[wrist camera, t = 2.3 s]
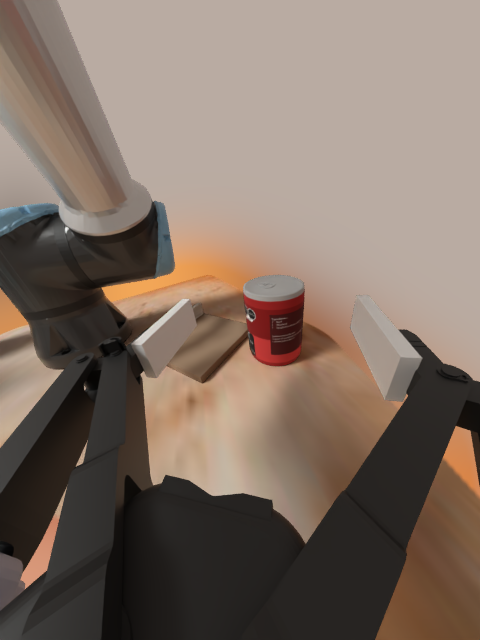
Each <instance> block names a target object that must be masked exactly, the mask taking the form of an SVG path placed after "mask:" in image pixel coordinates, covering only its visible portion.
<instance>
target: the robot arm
mask: <svg viewBox="0 0 480 640" xmlns="http://www.w3.org/2000/svg"><path fill="white" fill-rule="evenodd" d="M0 123H1V124H2V125H3V126H4V128H5V129H6V130H7V132H8V133H9V134H10V135H11V137H12V138H13V139H14V140H15V142H16V143H17V144H18V145H19V147H20V148H21V149H22V150H23V152H24V153H25V154H26V155H27V157H28V158H29V159H30V161H31V162H32V163H33V164H34V166H35V167H36V168H37V169H38V171H39V172H40V173H41V174H42V176H43V177H44V178H45V179H46V181H47V182H48V183H49V185H50V186H51V187H52V188H53V190H54V191H55V192H56V193H57V195H58V196H59V197H60V198H61V201H60V204H59V206H58V205H56V204H48V203H44V204H31V205H25V206H21V207H11V208H6V209H1V210H0V288H1V289H2V290H3V292H4V293H5V294H6V295H7V297H8V298H9V299H10V300H11V302H12V303H13V304H14V305H15V307H16V308H17V309H18V310H19V311H20V313H21V314H22V315H23V316H24V318H25V319H26V320H27V322H28V324H29V326H30V330H31V334H32V338H33V342H34V346H35V350H36V354H37V356H38V358H39V359H40V360H41V361H42V362H43V364H44V365H45V366H46V367H48V368H52V369H63V368H65V369H64V370H63V372H62V373H61V374H60V375H59V377H58V378H57V379H56V380H55V382H54V383H53V384H52V385H51V386H50V388H49V389H48V390H47V391H46V393H45V394H44V395H43V396H42V398H41V399H40V400H39V401H38V402H37V404H36V405H35V406H34V407H33V409H32V410H31V411H30V412H29V414H28V415H27V416H26V417H25V418H24V420H23V421H22V422H21V423H20V425H19V426H18V427H17V428H16V430H15V431H14V432H13V433H12V434H11V436H10V437H9V438H8V439H7V441H6V442H5V443H4V444H3V446H2V447H1V448H0V640H375V638H376V636H377V633H378V630H379V628H380V625H381V623H382V620H383V618H384V615H385V613H386V610H387V608H388V605H389V603H390V600H391V597H392V595H393V592H394V590H395V587H396V585H397V582H398V580H399V577H400V575H401V572H402V569H403V566H404V564H405V560H406V556H407V553H406V548H407V544H408V542H409V539H410V537H411V534H412V532H413V529H414V527H415V524H416V522H417V520H418V517H419V515H420V512H421V510H422V507H423V505H424V502H425V500H426V497H427V495H428V493H429V490H430V488H431V485H432V483H433V480H434V478H435V475H436V473H437V470H438V468H439V465H440V463H441V461H442V458H443V456H444V453H445V451H446V448H447V446H448V443H449V441H450V438H451V436H452V434H453V431H454V429H455V426H458V427H461V428H464V429H467V430H470V431H471V436H472V442H473V448H474V454H475V461H476V467H477V473H478V479H479V485H480V382H478V381H474V380H473V379H472V378H471V377H470V376H469V375H468V374H467V373H466V372H464V371H463V370H461V369H459V368H456V367H454V366H451V365H447V364H443V363H442V362H441V360H440V359H439V358H438V357H437V356H436V355H435V354H434V353H433V352H432V351H431V350H430V349H429V348H428V347H427V346H426V345H425V344H424V343H423V342H422V341H421V340H420V339H419V338H418V337H417V335H415V334H413V333H412V332H410V331H408V330H398V329H397V328H396V327H395V326H394V325H393V323H392V322H391V321H390V320H389V319H388V317H387V316H386V315H385V314H384V313H383V312H382V310H381V309H380V308H379V307H378V306H377V305H376V303H375V302H374V301H373V300H372V299H371V297H370V296H369V295H356V300H355V305H354V310H353V315H352V321H351V326H350V329H351V331H352V333H353V335H354V337H355V339H356V341H357V343H358V345H359V348H360V349H361V352H362V353H363V356H364V358H365V360H366V362H367V364H368V366H369V368H370V370H371V373H372V375H373V377H374V379H375V381H376V383H377V385H378V387H379V389H380V391H381V394H382V396H383V398H384V400H390V401H401V402H402V401H403V400H404V398H405V396H406V394H408V397H407V399H406V400H405V402H404V403H403V405H402V406H401V408H400V409H399V411H398V412H397V414H396V415H395V417H394V418H393V420H392V421H391V423H390V424H389V426H388V427H387V429H386V430H385V432H384V433H383V435H382V436H381V438H380V439H379V441H378V442H377V444H376V445H375V447H374V448H373V450H372V451H371V453H370V454H369V456H368V457H367V459H366V460H365V462H364V463H363V465H362V466H361V468H360V469H359V471H358V472H357V474H356V475H355V477H354V478H353V480H352V481H351V483H350V484H349V486H348V487H347V488H346V489H345V490H344V491H342V493H341V494H340V495H339V496H338V498H337V499H336V500H335V502H334V503H333V505H332V506H331V508H330V509H329V511H328V512H327V514H326V515H325V517H324V518H323V520H322V521H321V523H320V524H319V525H318V527H317V528H316V530H315V531H314V533H313V534H312V536H311V537H310V539H309V540H308V542H307V543H306V544H305V542H304V540H303V539H302V537H301V536H300V534H299V533H298V532H297V530H296V529H295V528H294V526H293V525H292V524H291V523H290V522H289V521H288V520H287V519H286V518H285V517H283V516H282V515H281V514H280V513H278V512H277V511H275V510H274V509H273V504H272V500H269V499H264V498H260V497H256V496H252V495H248V494H244V493H242V494H232V495H222V496H211V495H209V494H208V493H207V492H205V491H204V490H202V489H201V488H199V487H198V486H196V485H195V484H193V483H192V482H191V481H189V480H185V479H181V478H177V477H173V476H168V475H165V477H164V479H163V482H162V483H161V484H157V485H154V486H153V484H152V481H151V477H150V467H149V455H148V443H147V431H146V419H145V406H144V394H143V382H142V377H141V375H140V374H141V373H142V372H143V371H144V372H145V374H146V376H147V377H152V378H157V377H158V376H159V374H160V373H161V372H162V371H163V369H164V368H165V367H166V365H167V364H168V363H169V361H170V360H171V359H172V358H173V356H174V355H175V354H176V352H177V351H178V350H179V348H180V347H181V346H182V345H183V343H184V342H185V341H186V339H187V338H188V337H189V335H190V334H191V333H192V332H193V330H194V329H195V328H196V326H197V323H196V319H195V315H194V312H193V308H192V304H191V301H190V299H182V300H181V301H180V302H178V303H177V304H176V305H175V306H174V307H173V308H172V309H170V310H169V311H168V312H167V313H166V314H165V315H164V316H163V317H161V318H160V319H159V320H158V321H157V322H156V323H155V324H153V325H152V326H151V327H149V328H148V329H146V330H145V331H144V332H143V333H141V334H140V335H139V336H138V338H136V339H134V340H133V341H132V342H131V343H130V344H129V345H128V346H125V344H124V341H125V340H126V339H127V338H128V337H129V335H130V334H131V332H132V327H131V325H130V323H129V321H128V319H127V317H126V316H125V315H124V314H123V313H122V312H121V311H120V310H119V309H118V308H117V307H116V306H114V305H113V304H112V303H111V302H110V301H109V300H108V299H107V297H106V296H105V294H104V292H103V290H102V288H101V287H106V286H112V285H118V284H124V283H130V282H136V281H142V280H148V279H155V278H157V277H160V276H164V275H168V274H170V273H172V272H173V271H174V268H175V262H174V255H173V249H172V244H171V239H170V232H169V227H168V220H167V215H166V210H165V206H164V204H163V203H161V202H157V201H154V202H152V199H151V196H150V194H149V192H148V191H147V189H146V188H145V187H144V186H143V185H141V184H140V183H138V182H136V181H134V180H132V179H131V177H130V174H129V172H128V170H127V167H126V165H125V162H124V160H123V157H122V155H121V153H120V150H119V148H118V145H117V143H116V140H115V138H114V136H113V133H112V131H111V129H110V126H109V124H108V121H107V119H106V117H105V114H104V112H103V110H102V107H101V104H100V102H99V100H98V97H97V95H96V92H95V90H94V88H93V85H92V83H91V80H90V78H89V75H88V73H87V71H86V68H85V66H84V63H83V61H82V59H81V56H80V54H79V51H78V49H77V47H76V44H75V42H74V39H73V37H72V35H71V32H70V30H69V27H68V25H67V23H66V20H65V18H64V15H63V13H62V11H61V8H60V6H59V3H58V1H57V0H0ZM101 356H104V357H101ZM99 357H101V358H99ZM84 386H85V387H86V390H84ZM87 440H88V442H87ZM86 442H87V448H86V453H85V458H84V462H83V464H81V465H79V466H77V467H76V464H77V462H78V460H79V458H80V456H81V453H82V451H83V449H84V447H85V444H86ZM67 484H68V486H67ZM66 487H67V490H66V494H65V498H64V502H63V506H62V511H61V515H60V519H59V523H58V527H57V532H56V536H55V540H54V544H53V548H52V553H51V557H50V561H49V565H48V569H47V571H46V572H45V573H44V574H42V575H41V576H40V577H39V578H38V579H37V580H35V581H34V582H33V583H32V584H31V585H30V586H29V587H27V588H26V589H25V583H24V582H23V581H21V580H20V579H21V576H22V573H23V571H24V570H25V568H26V567H27V565H28V563H29V562H30V560H31V558H32V556H33V555H34V553H35V551H36V549H37V548H38V546H39V544H40V542H41V540H42V539H43V536H44V534H45V532H46V530H47V528H48V526H49V524H50V522H51V520H52V518H53V516H54V513H55V511H56V509H57V507H58V505H59V502H60V500H61V498H62V496H63V493H64V491H65V489H66Z"/></svg>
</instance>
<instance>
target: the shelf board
mask: <svg viewBox="0 0 480 640" xmlns="http://www.w3.org/2000/svg"><path fill="white" fill-rule="evenodd" d="M192 308H193V312H194V315H195V319H196V323H197V326H196V328H195V329H194V330H193V332H192V333H191V334H190V335H189V337H188V338H187V339H186V341H185V342H184V343H183V345H182V346H181V347H180V348H179V350H178V351H177V352H176V354H175V355H174V356H173V358H172V359H171V360H170V361H169V363H168V364H167V365H166V366H168V367H170V368H172V369H174V370H176V371H178V372H180V373H182V374H184V375H186V376H188V377H190V378H192V379H194V380H196V381H199V382H201V383H203V382H204V381H205V380H206V379H207V378H208V377H209V376H210V375H211V374H212V373H213V372H214V370H215V369H216V368H217V367H218V366H219V365H220V364H221V363H222V362H223V361H224V360H225V359H226V358H227V357H228V356H229V355H230V354H231V353H232V352H233V350H234V349H235V348H236V347H237V346H238V345H239V344H240V343H241V342H242V341H243V340H244V339H245V338H246V337H247V336H248V329H247V324H246V323H242V322H238V321H234V320H229V319H225V318H221V317H217V316H212V315H208V314H204V312H203V308H202V304H201V303H197V304H195V305H194V306H192Z"/></svg>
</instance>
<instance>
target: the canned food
mask: <svg viewBox="0 0 480 640" xmlns="http://www.w3.org/2000/svg"><path fill="white" fill-rule="evenodd" d="M304 290H305V289H304V283H303V281H301V280H300V279H298V278H295V277H291V276H284V275H269V276H262V277H258V278H254V279H252V280H250V281H248V282H247V283H245V284H244V287H243V294H244V304H245V312H246V320H247V329H248V337H249V345H250V350H251V352H252V354H253V356H254V357H255V358H256V359H257V360H258V361H259V362H261V363H264V364H266V365H270V366H283V365H287V364H290V363H292V362H294V361H295V360H296V359H297V357H298V356H299V354H300V351H301V343H302V327H303V310H304V292H305V291H304Z"/></svg>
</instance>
